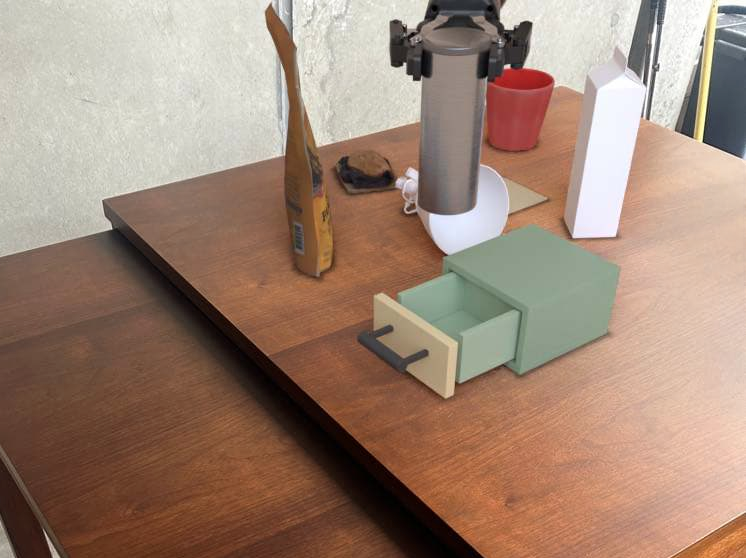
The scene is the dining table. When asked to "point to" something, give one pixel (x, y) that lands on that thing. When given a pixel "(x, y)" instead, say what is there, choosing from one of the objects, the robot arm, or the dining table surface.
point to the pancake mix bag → (302, 167)
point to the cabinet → (543, 289)
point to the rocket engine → (468, 226)
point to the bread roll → (365, 172)
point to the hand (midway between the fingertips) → (454, 69)
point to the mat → (521, 196)
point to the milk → (604, 148)
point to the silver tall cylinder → (452, 118)
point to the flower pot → (517, 108)
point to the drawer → (443, 331)
